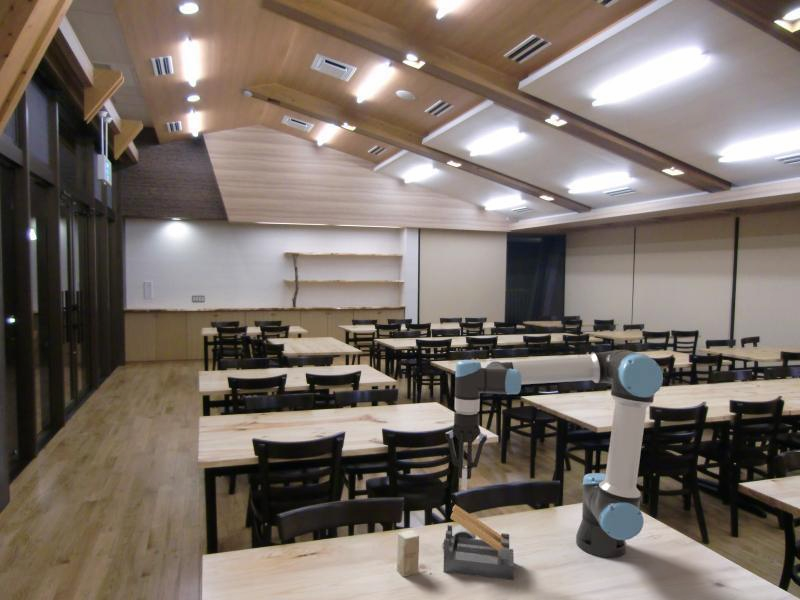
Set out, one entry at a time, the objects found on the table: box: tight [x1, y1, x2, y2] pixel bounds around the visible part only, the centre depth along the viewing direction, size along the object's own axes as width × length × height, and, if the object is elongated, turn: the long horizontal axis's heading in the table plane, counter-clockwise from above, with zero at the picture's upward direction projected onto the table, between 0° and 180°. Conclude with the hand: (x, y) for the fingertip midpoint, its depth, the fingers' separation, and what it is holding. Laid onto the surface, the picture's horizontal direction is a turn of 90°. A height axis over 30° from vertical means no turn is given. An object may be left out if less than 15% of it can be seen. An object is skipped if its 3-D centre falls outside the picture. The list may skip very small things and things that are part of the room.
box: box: [396, 529, 420, 577], centre depth 153 cm, size 5×4×11 cm
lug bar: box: [443, 524, 455, 559], centre depth 158 cm, size 2×10×5 cm, turn 169°
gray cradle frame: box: [443, 532, 515, 581], centre depth 156 cm, size 20×10×9 cm, turn 79°
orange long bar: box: [451, 504, 508, 544], centre depth 159 cm, size 19×2×2 cm, turn 78°
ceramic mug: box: [441, 524, 477, 550], centre depth 167 cm, size 11×8×8 cm
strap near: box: [450, 511, 508, 552], centre depth 153 cm, size 19×2×2 cm, turn 78°
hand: (464, 488), depth 160 cm, fingers closed
